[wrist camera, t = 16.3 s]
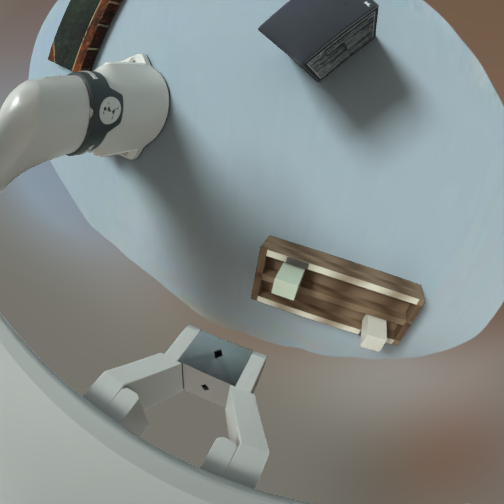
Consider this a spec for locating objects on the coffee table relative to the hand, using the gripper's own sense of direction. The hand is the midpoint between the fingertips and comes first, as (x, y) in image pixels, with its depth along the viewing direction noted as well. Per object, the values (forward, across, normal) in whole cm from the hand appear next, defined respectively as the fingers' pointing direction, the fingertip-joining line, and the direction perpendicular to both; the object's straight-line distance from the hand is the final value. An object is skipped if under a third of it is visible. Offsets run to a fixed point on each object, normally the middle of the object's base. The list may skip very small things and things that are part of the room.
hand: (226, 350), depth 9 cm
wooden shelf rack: (+29, -7, +15) cm, 33 cm away
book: (+31, +50, -27) cm, 65 cm away
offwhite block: (+27, -14, +17) cm, 34 cm away
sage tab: (+27, 0, +13) cm, 30 cm away
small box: (+30, +3, -18) cm, 35 cm away
